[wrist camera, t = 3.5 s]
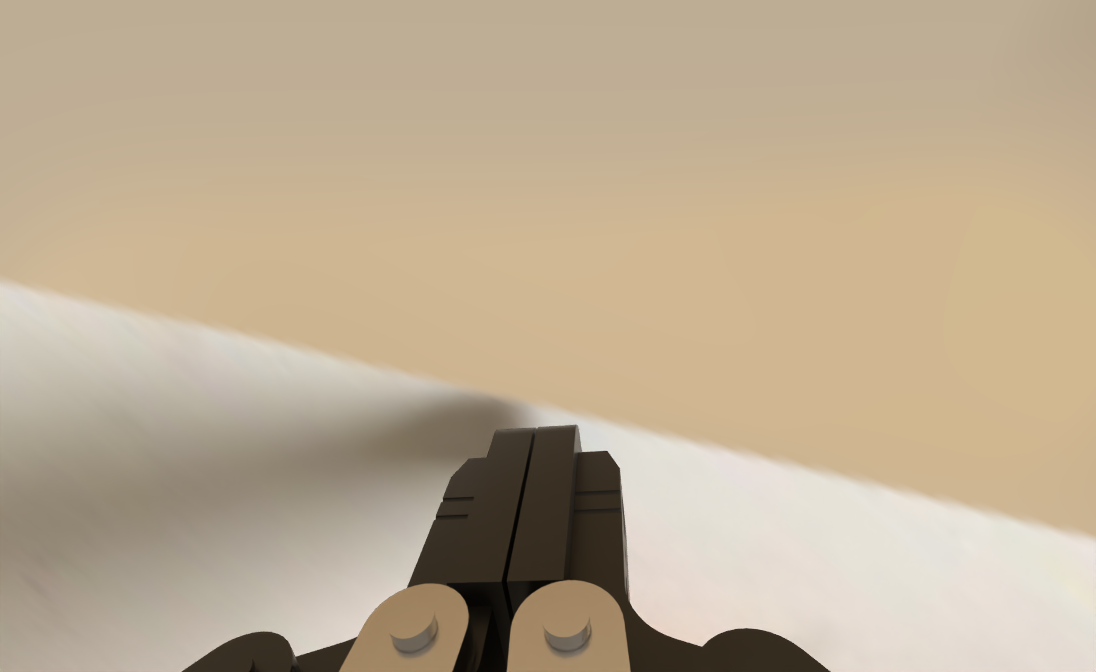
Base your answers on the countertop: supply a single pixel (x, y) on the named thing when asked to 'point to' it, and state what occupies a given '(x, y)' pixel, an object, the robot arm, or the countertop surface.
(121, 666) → the countertop surface
